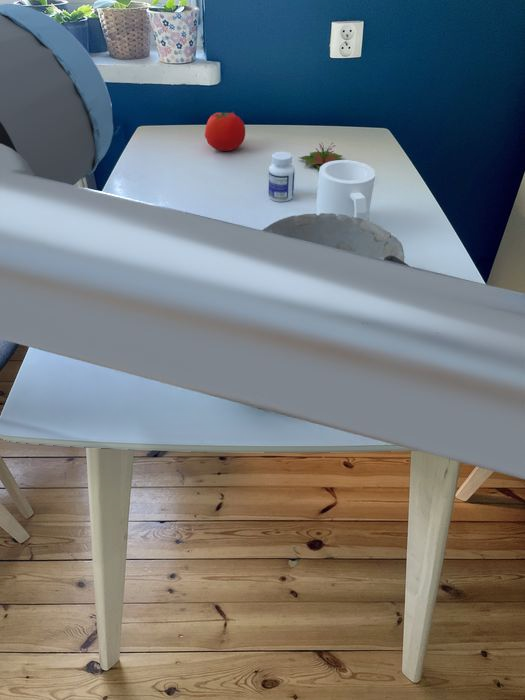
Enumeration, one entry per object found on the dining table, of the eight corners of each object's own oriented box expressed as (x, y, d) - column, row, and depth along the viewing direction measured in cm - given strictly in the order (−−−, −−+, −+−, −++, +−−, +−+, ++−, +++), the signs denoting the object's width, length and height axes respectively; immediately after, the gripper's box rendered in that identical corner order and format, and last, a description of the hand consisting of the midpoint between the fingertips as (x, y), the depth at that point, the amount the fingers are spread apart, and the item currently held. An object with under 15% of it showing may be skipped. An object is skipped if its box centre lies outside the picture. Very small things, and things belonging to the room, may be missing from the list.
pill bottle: (279, 188, 116) (280, 147, 110) (298, 196, 114) (301, 154, 108) (263, 197, 113) (263, 155, 107) (282, 205, 111) (284, 162, 105)
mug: (383, 241, 100) (394, 187, 93) (333, 249, 98) (339, 194, 91) (353, 208, 110) (360, 157, 103) (306, 215, 108) (311, 163, 100)
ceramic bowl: (233, 335, 80) (232, 279, 73) (272, 255, 96) (274, 204, 89) (384, 364, 75) (397, 308, 69) (398, 275, 92) (409, 223, 85)
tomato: (252, 146, 134) (252, 110, 128) (228, 159, 127) (227, 123, 122) (221, 138, 137) (220, 103, 132) (197, 151, 131) (194, 115, 125)
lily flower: (288, 159, 128) (289, 140, 125) (328, 149, 133) (330, 130, 130) (319, 178, 120) (321, 158, 117) (360, 166, 125) (363, 147, 122)
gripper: (386, 487, 39) (204, 395, 53) (532, 310, 51) (352, 273, 66) (373, 412, 35) (179, 333, 49) (536, 239, 47) (343, 216, 61)
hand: (278, 299), depth 57 cm, fingers open, 13 cm apart
